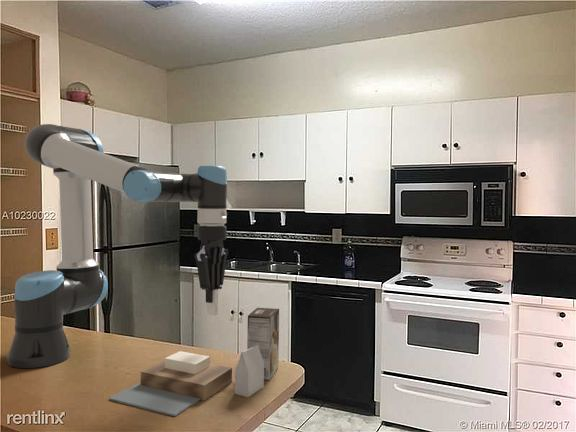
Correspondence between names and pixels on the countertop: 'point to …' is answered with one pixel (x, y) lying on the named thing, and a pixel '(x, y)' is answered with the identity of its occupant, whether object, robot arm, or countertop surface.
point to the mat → (155, 399)
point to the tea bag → (249, 372)
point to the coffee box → (265, 337)
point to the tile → (187, 362)
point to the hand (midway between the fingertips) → (211, 314)
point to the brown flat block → (187, 380)
